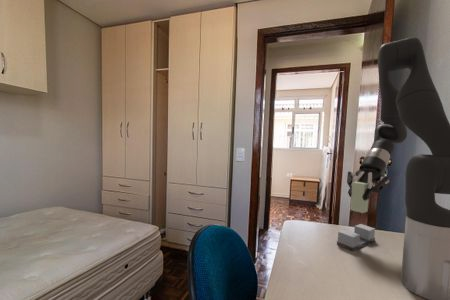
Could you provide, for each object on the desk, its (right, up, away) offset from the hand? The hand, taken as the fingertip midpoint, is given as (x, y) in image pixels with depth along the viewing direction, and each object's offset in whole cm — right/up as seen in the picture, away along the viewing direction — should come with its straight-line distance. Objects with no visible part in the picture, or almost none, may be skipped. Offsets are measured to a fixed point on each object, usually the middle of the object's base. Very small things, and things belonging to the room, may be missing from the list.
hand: (357, 197), depth 77 cm
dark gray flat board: (+1, -17, +2) cm, 17 cm away
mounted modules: (+1, -17, +2) cm, 17 cm away
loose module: (+1, -5, +1) cm, 5 cm away
